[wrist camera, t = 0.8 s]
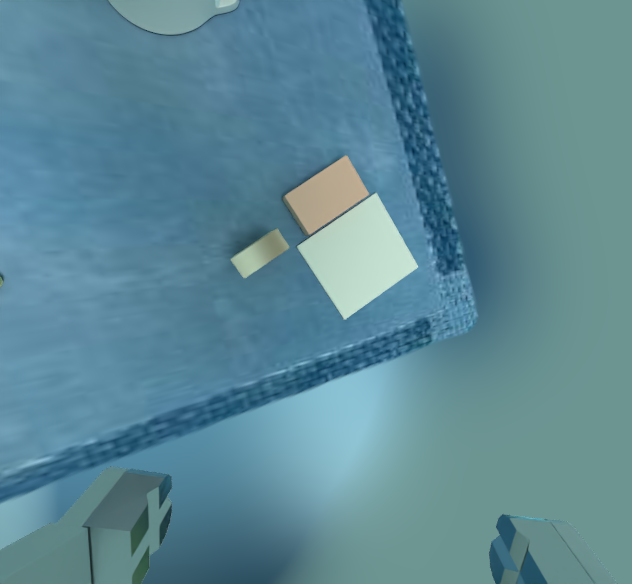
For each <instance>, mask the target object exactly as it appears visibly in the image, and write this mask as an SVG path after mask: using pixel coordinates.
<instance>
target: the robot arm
mask: <svg viewBox="0 0 632 584" xmlns="http://www.w3.org/2000/svg"><path fill="white" fill-rule="evenodd" d="M108 1H109V2H110V3H111V5H112V6H113V7H114V8H115V9H116V10H117V11H118V12H119V13H120V14H121V15H122V16H123V17H125V18H126V19H127V20H129V21H130V22H132V23H133V24H135V25H137V26H139V27H141V28H143V29H145V30H148V31H151V32H154V33H159V34H167V35H174V34H182V33H186V32H189V31H192V30H194V29H196V28H198V27H199V26H201V25H202V24H203V23H205V22H206V21H207V20H208V19H210V18H211V17H212V16H214V15H216V14H222V13H227V12H230V11H233V10H235V9H236V8H237V7H238V5H239V0H108ZM171 489H172V477H171V476H170V475H169V474H162V473H156V472H148V471H142V470H135V469H125V468H119V467H112V466H110V467H109V468H107V469H105V470H104V471H103V472H102V473H101V474H100V475H99V476H98V477H97V478H96V479H95V481H94V482H93V483H92V484H91V485H90V486H89V487H88V488H87V490H86V491H85V492H84V493H83V494H82V495H81V496H80V498H79V499H78V500H77V501H76V502H75V503H74V504H73V506H72V507H71V508H70V509H69V510H68V511H67V512H66V513H65V515H64V516H63V517H62V518H61V519H60V520H59V521H58V522H57V523H56V524H53V523H49V524H47V525H45V526H43V527H42V528H40V529H38V530H36V531H34V532H32V533H30V534H29V535H27V536H25V537H23V538H21V539H19V540H18V541H16V542H14V543H12V544H10V545H8V546H7V547H5V548H3V549H1V550H0V584H141V583H142V581H143V579H144V577H145V575H146V573H147V571H148V569H149V556H150V555H151V554H152V553H154V552H155V551H156V550H157V549H159V548H160V546H161V544H162V542H163V539H164V538H165V535H166V533H167V530H168V526H169V523H170V518H171V513H172V502H171V501H170V499H169V498H168V497H167V496H168V494H169V492H170V490H171ZM496 528H497V530H498V532H499V534H500V535H499V536H498V537H497V538H496V539H494V540H493V541H492V542H491V547H490V551H489V559H490V568H491V572H492V576H493V579H494V581H495V584H618V583H617V582H616V581H615V579H614V578H613V577H612V576H611V574H610V573H609V572H608V570H607V569H606V568H605V567H604V565H603V564H602V563H601V561H600V560H599V559H598V557H597V556H596V555H595V554H594V552H593V551H592V550H591V548H590V547H589V546H588V545H587V543H586V542H585V541H584V540H583V538H582V537H581V536H580V534H579V533H578V532H577V531H576V529H575V528H574V527H573V526H572V525H571V524H570V523H568V522H567V521H559V520H550V519H540V518H531V517H522V516H513V515H504V514H502V515H501V516H500V517H499V519H498V521H497V525H496Z"/></svg>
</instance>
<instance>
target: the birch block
mask: <svg viewBox="0 0 632 584" xmlns="http://www.w3.org/2000/svg"><path fill="white" fill-rule="evenodd" d="M289 248H290V247H289V246H288V244H287V243H286V241H285V240H284V238H283V237H282V235H281V234H280V232H279V231H278V229H275V230H272V231H270V232H268V233H267V234H265V235H264V236H262V237H261V238H259V239H258V240H256V241H255V242H253V243H252V244H250V245H249V246H247V247H246V248H244V249H243V250H241V251H240V252H238V253H237V254H235V255H234V256H233V257H232V258H231V259H230V260H231V261H232V263H233V264H234V265H235V267H236V268H237V270H238V271H239V272H240V274H241V275H242V277H243V278H244V279H245V278H246V277H248V276H249V275H251V274H252V273H254V272H255V271H257V270H258V269H260V268H261V267H263V266H264V265H265V264H267V263H268V262H270V261H271V260H273V259H274V258H276V257H277V256H279V255H280V254H282V253H283V252H285V251H286V250H288V249H289Z"/></svg>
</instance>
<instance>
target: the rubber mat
mask: <svg viewBox="0 0 632 584" xmlns="http://www.w3.org/2000/svg"><path fill="white" fill-rule="evenodd" d="M296 247H297V249H298V250H299V252H300V253H301V255H302V256H303V258H304V259H305V261H306V262H307V264H308V265H309V267H310V268H311V270H312V271H313V273H314V274H315V276H316V277H317V279H318V281H319V282H320V284H321V285H322V287H323V288H324V290H325V291H326V293H327V294H328V296H329V297H330V299H331V300H332V302H333V303H334V305H335V306H336V308H337V309H338V311H339V313H340V314H341V316H342V317H343V319H346V318H348V317H349V316H351V315H352V314H353V313H355V312H356V311H358V310H359V309H360V308H362V307H363V306H365V305H366V304H367V303H369V302H370V301H372V300H373V299H374V298H376V297H377V296H379V295H380V294H381V293H383V292H384V291H386V290H387V289H388V288H390V287H391V286H393V285H394V284H395V283H397V282H398V281H400V280H401V279H402V278H404V277H405V276H407V275H408V274H409V273H411V272H412V271H414V270H415V269H416V268H418V265H417V264H416V262H415V260H414V258H413V257H412V255H411V253H410V251H409V249H408V248H407V246H406V244H405V242H404V241H403V239H402V237H401V235H400V234H399V232H398V230H397V228H396V227H395V225H394V223H393V221H392V219H391V218H390V216H389V214H388V212H387V211H386V209H385V207H384V205H383V204H382V202H381V200H380V198H379V196H378V195H377V193H374V194H373V195H372V196H370V197H369V198H367V199H366V200H364V201H363V202H361V203H360V204H358V205H357V206H355V207H354V208H352V209H351V210H349V211H348V212H346V213H345V214H344V215H342V216H341V217H339V218H338V219H336V220H335V221H333V222H332V223H330V224H329V225H327V226H326V227H324V228H323V229H321V230H320V231H318V232H317V233H316V234H314V235H313V236H311V237H310V238H308V239H307V240H305V241H304V242H302V243H301V244H299V245H298V246H296Z"/></svg>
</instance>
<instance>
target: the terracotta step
mask: <svg viewBox="0 0 632 584" xmlns="http://www.w3.org/2000/svg"><path fill="white" fill-rule="evenodd" d="M368 195H369V193H368V191H367V190H366V188H365V186H364V184H363V183H362V181H361V179H360V177H359V176H358V174H357V172H356V170H355V169H354V167H353V165H352V163H351V162H350V160H349V158H348V156H347V155H346V156H344V157H343V158H341V159H339V160H338V161H336V162H335V163H333V164H332V165H330V166H329V167H327V168H326V169H324V170H323V171H321V172H320V173H318V174H317V175H315V176H314V177H312V178H311V179H309V180H308V181H306V182H305V183H303V184H301V185H300V186H298V187H297V188H295V189H294V190H292V191H291V192H289V193H288V194H286V195H285V196H284V197H283V198H282V200H283V201H284V203H285V204H286V206H287V207H288V209H289V211H290V212H291V214H292V215H293V217H294V218H295V220H296V221H297V223H298V225H299V226H300V228H301V229H302V231H303V232H304V234H305V235H310V234H312V233H313V232H315V231H316V230H318V229H319V228H321V227H322V226H323V225H325V224H326V223H328V222H329V221H331V220H332V219H334V218H335V217H337V216H338V215H340V214H341V213H343V212H344V211H346V210H347V209H349V208H350V207H352V206H353V205H354V204H356V203H357V202H359V201H360V200H362V199H363V198H365V197H366V196H368Z"/></svg>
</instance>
